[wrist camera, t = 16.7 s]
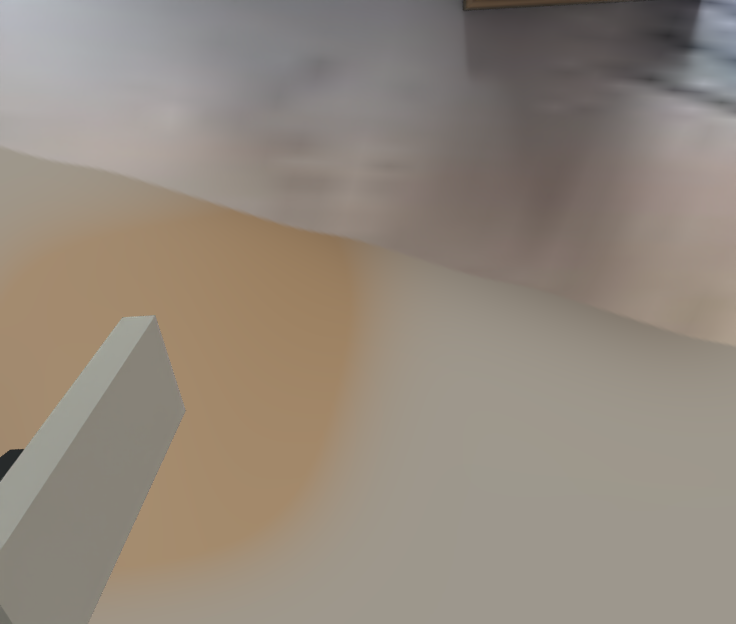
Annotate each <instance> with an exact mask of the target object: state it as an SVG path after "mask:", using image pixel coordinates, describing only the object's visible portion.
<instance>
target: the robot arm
mask: <svg viewBox="0 0 736 624" xmlns="http://www.w3.org/2000/svg"><path fill="white" fill-rule="evenodd" d="M184 413H185V407H184V404H183V401H182V398H181V395H180V391H179V388H178V385H177V382H176V379H175V376H174V373H173V369H172V366H171V363H170V360H169V357H168V354H167V351H166V347H165V344H164V341H163V338H162V335H161V332H160V329H159V326H158V322H157V320H156V316H155V315H153V316H138V317H123V318H122V319H121V320H120V321H119V323H118V324H117V326H116V327H115V328H114V330H113V331H112V332H111V334H110V335H109V336H108V338H107V339H106V340H105V342H104V343H103V344H102V346H101V347H100V348H99V350H98V351H97V353H96V354H95V355H94V357H93V358H92V359H91V360H90V362H89V363H88V365H87V366H86V367H85V368H84V370H83V371H82V372H81V374H80V375H79V377H78V378H77V379H76V381H75V382H74V383H73V385H72V386H71V387H70V389H69V390H68V391H67V393H66V394H65V396H64V397H63V398H62V399H61V401H60V402H59V403H58V405H57V406H56V408H55V409H54V410H53V411H52V413H51V414H50V416H49V417H48V418H47V420H46V421H45V422H44V424H43V425H42V426H41V428H40V429H39V430H38V432H37V433H36V434H35V436H34V437H33V438H32V440H31V441H30V442H29V444H28V445H27V446H26V448H25V449H15V450H9V451H8V452H7V453H5V454H4V455H3V456H1V457H0V624H88V622H89V620H90V618H91V616H92V614H93V612H94V609H95V607H96V605H97V603H98V601H99V598H100V596H101V594H102V592H103V589H104V587H105V585H106V583H107V581H108V579H109V576H110V574H111V572H112V570H113V568H114V566H115V563H116V561H117V559H118V557H119V555H120V553H121V550H122V548H123V546H124V544H125V541H126V540H127V537H128V535H129V533H130V531H131V529H132V526H133V524H134V522H135V520H136V517H137V515H138V513H139V511H140V509H141V507H142V504H143V502H144V500H145V498H146V496H147V494H148V492H149V489H150V487H151V485H152V483H153V481H154V478H155V476H156V474H157V472H158V470H159V468H160V465H161V463H162V461H163V459H164V457H165V454H166V452H167V450H168V448H169V446H170V443H171V441H172V439H173V437H174V435H175V433H176V430H177V428H178V426H179V424H180V422H181V419H182V417H183V415H184Z"/></svg>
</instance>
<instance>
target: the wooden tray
mask: <svg viewBox="0 0 736 624" xmlns="http://www.w3.org/2000/svg"><path fill="white" fill-rule="evenodd" d="M628 1H646V0H463V10H482V9H500V8H518V7H536V6H555V5H573V4H591V3H610V2H628Z"/></svg>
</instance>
